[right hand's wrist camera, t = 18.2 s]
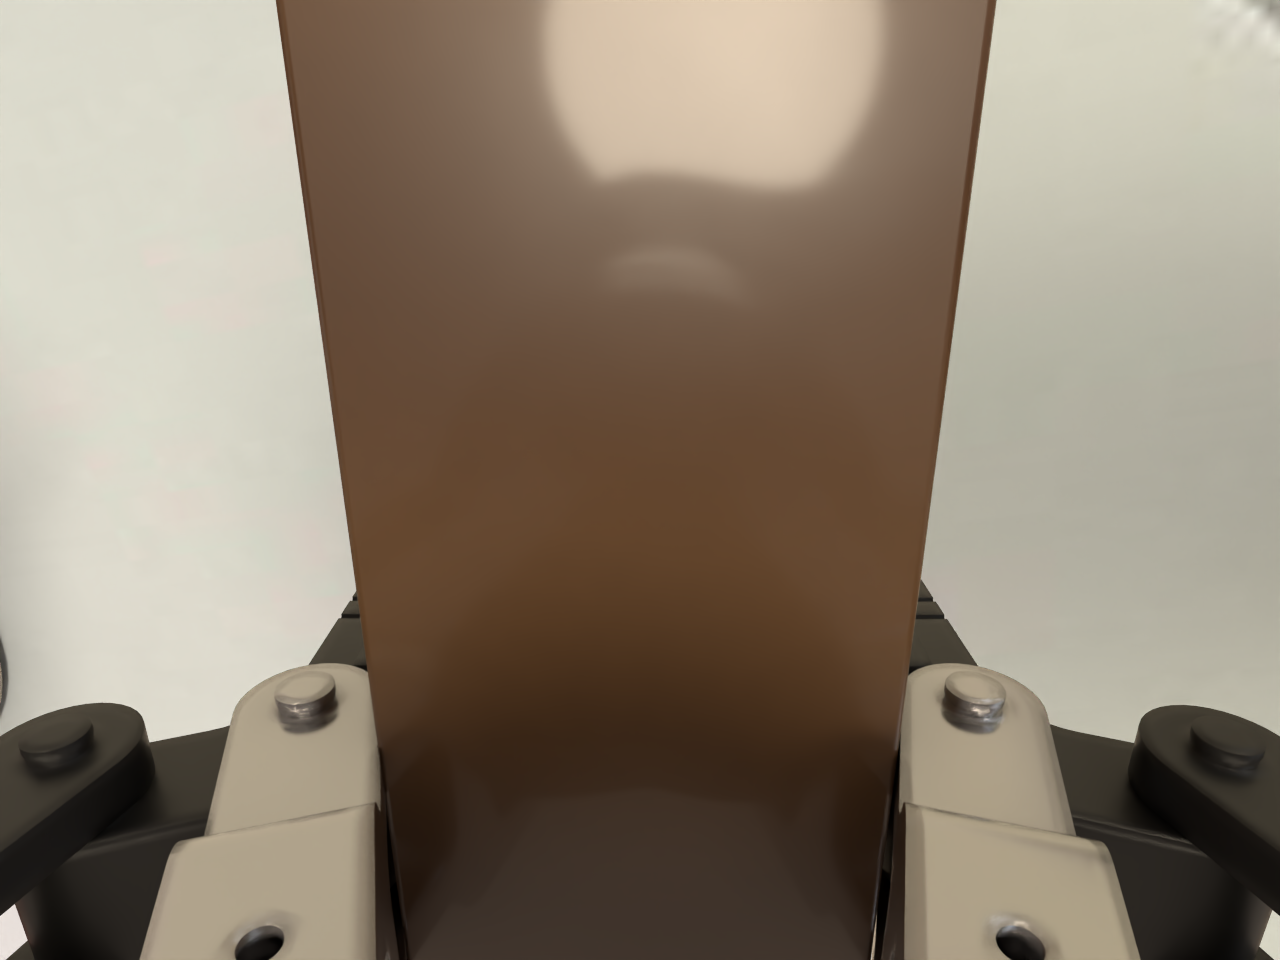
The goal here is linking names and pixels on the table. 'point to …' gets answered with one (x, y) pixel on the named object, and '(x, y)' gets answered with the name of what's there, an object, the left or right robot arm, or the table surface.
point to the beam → (637, 445)
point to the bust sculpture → (0, 683)
